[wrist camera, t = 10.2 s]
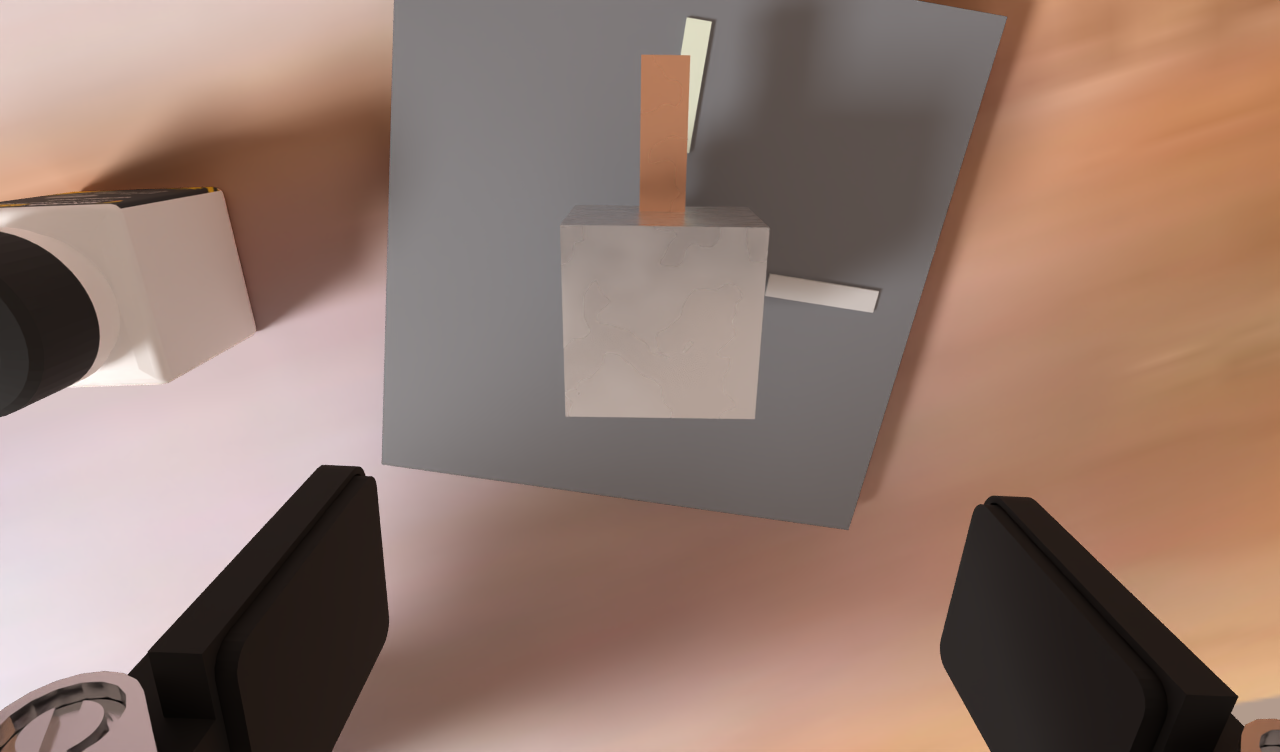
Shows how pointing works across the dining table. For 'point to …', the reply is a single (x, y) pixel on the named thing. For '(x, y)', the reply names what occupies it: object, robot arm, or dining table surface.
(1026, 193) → the dining table surface
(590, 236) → the mallet
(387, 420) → the base board
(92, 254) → the medicine bottle
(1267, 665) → the dining table surface
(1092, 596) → the robot arm
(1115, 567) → the dining table surface
